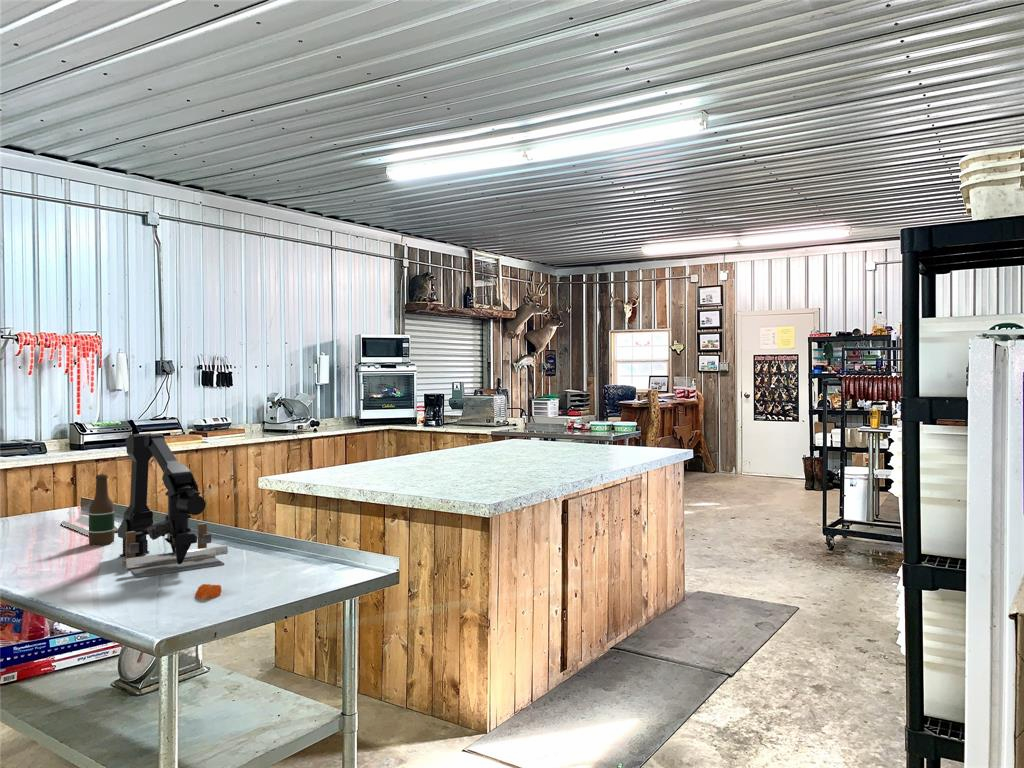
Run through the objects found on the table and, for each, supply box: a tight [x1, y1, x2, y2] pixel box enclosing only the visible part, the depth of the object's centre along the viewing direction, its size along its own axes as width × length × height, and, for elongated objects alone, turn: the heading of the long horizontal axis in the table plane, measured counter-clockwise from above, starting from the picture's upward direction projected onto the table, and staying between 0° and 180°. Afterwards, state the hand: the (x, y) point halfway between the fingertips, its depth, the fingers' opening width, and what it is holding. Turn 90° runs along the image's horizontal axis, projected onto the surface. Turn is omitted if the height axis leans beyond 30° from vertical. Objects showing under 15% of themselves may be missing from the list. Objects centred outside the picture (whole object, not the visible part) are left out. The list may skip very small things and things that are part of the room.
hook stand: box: [121, 522, 216, 571], centre depth 225 cm, size 9×25×10 cm, turn 128°
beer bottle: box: [88, 473, 115, 546], centre depth 249 cm, size 8×8×24 cm
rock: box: [194, 583, 222, 600], centre depth 189 cm, size 12×12×4 cm
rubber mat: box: [130, 557, 225, 579], centre depth 216 cm, size 9×24×1 cm, turn 128°
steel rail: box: [125, 544, 229, 569], centre depth 216 cm, size 28×3×3 cm, turn 128°
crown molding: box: [59, 514, 119, 536], centre depth 275 cm, size 31×12×4 cm, turn 48°
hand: (178, 562), depth 216 cm, fingers closed on steel rail, 3 cm apart
